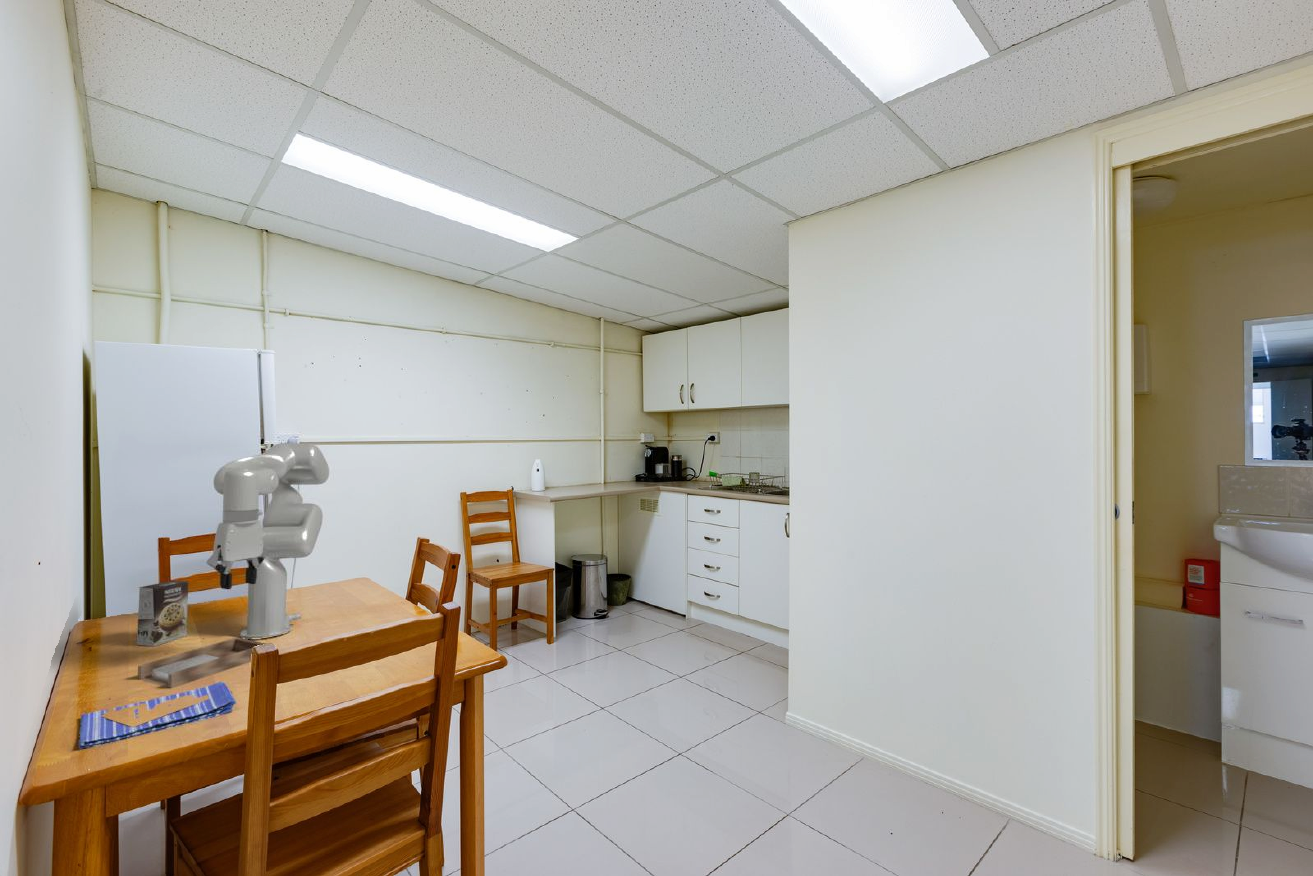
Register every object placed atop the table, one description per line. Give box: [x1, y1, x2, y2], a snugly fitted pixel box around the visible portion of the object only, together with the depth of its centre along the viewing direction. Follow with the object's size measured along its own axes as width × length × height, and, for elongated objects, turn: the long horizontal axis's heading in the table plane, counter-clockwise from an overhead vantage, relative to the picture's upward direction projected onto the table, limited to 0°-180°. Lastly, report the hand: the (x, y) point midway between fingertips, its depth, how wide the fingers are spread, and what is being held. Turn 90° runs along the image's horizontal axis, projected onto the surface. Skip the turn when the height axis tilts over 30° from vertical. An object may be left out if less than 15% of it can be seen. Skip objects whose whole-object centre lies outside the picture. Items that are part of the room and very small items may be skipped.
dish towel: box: [78, 681, 237, 751], centre depth 117 cm, size 17×24×3 cm
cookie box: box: [136, 580, 189, 647], centre depth 161 cm, size 9×6×16 cm
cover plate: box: [152, 654, 218, 682], centre depth 137 cm, size 11×8×2 cm
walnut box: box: [137, 637, 267, 689], centre depth 141 cm, size 22×13×4 cm, turn 158°
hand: (238, 585), depth 148 cm, fingers open, 5 cm apart
